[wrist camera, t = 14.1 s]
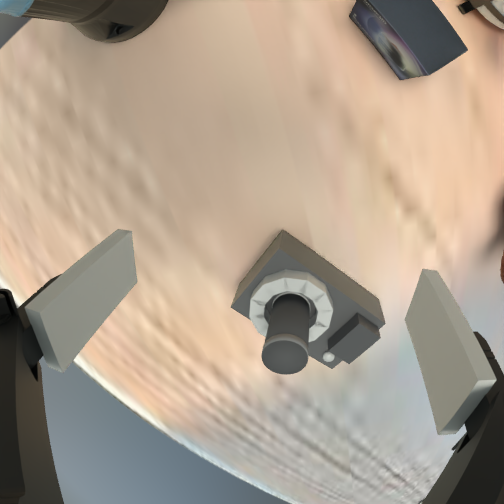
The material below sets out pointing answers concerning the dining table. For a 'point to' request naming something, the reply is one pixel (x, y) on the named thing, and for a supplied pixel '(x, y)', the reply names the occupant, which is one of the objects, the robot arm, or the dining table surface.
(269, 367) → the lens
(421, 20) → the small box
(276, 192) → the dining table surface
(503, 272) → the brown clay mug
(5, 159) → the dining table surface
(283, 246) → the camera body
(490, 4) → the coffee press
